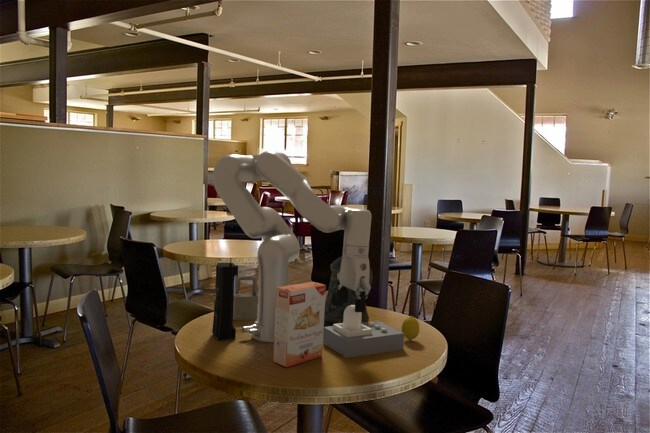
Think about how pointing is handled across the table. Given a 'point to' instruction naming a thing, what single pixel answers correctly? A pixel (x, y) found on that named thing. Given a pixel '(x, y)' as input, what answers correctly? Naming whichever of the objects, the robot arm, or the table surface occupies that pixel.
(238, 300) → the padlock
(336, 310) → the beer stein
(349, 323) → the white domed cylinder
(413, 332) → the lemon
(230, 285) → the black rectangular column
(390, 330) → the grey button console
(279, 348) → the cracker box
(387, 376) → the table surface
